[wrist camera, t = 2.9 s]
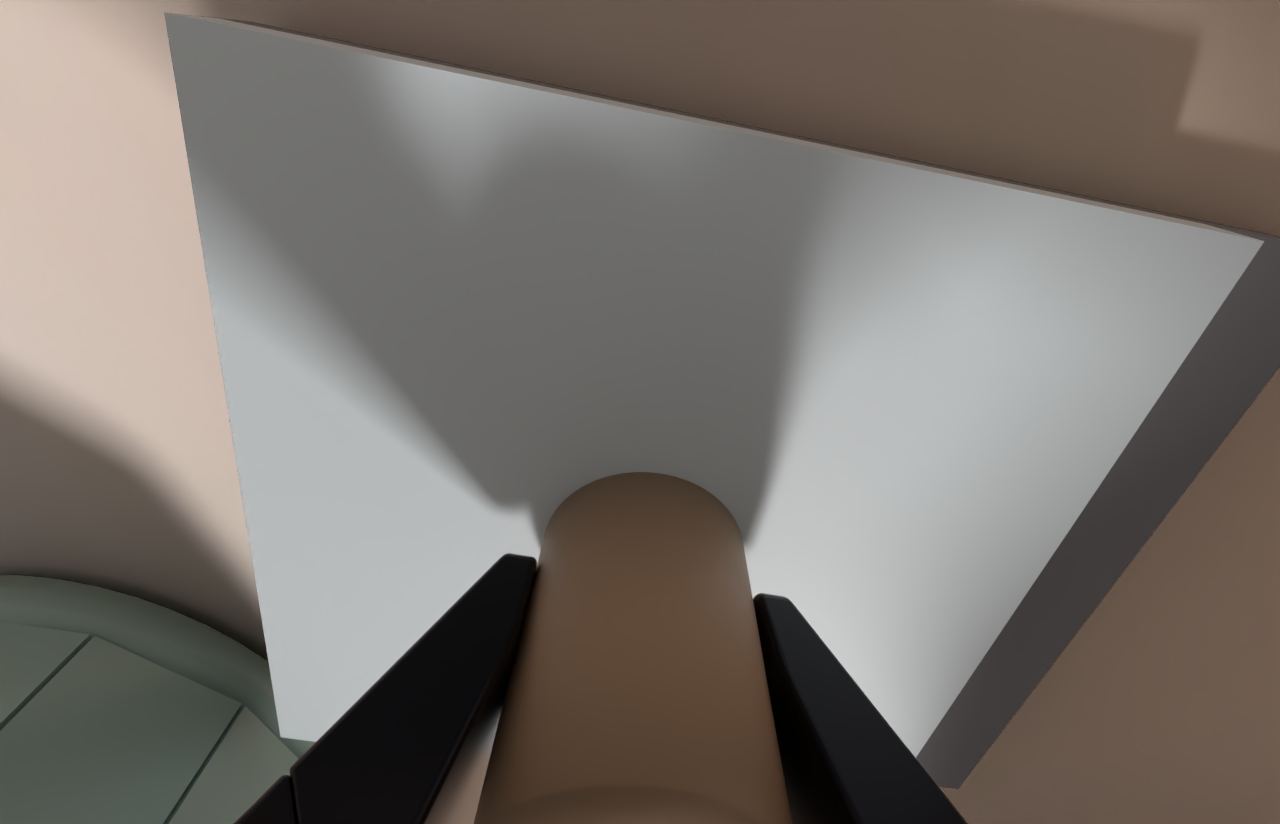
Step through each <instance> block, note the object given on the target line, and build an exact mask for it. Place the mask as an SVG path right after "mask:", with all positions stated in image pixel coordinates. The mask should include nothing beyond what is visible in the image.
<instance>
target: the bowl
mask: <svg viewBox="0 0 1280 824" xmlns="http://www.w3.org/2000/svg"><path fill="white" fill-rule="evenodd" d="M314 743H315V742H313V741H305V740H298V739H291V738H283V737H280V731H279V725H278V718H277V712H276V706H275V700H274V693H273V687H272V681H271V675H270V668H269V662H268V661H266V660H265V659H263V658H262V657H260V656H259V655H257V654H256V653H254V652H253V651H251V650H250V649H248V648H247V647H245V646H243V645H242V644H240V643H239V642H237V641H235V640H233V639H231V638H229V637H228V636H226V635H224V634H222V633H220V632H218V631H217V630H215V629H213V628H211V627H209V626H207V625H205V624H203V623H200V622H198V621H196V620H194V619H191V618H189V617H187V616H185V615H182V614H180V613H178V612H176V611H173V610H171V609H168V608H165V607H163V606H160V605H157V604H154V603H151V602H149V601H146V600H143V599H140V598H137V597H134V596H131V595H127V594H123V593H120V592H116V591H112V590H109V589H105V588H101V587H98V586H92V585H87V584H82V583H77V582H72V581H66V580H61V579H53V578H43V577H34V576H24V575H0V824H233V823H234V822H235V821H236V820H238V819H239V818H240V817H241V816H242V815H243V814H244V813H245V812H246V811H247V810H248V809H249V808H250V807H251V806H252V805H253V804H254V803H255V802H256V801H257V800H258V799H259V798H260V797H261V796H262V795H263V794H264V793H265V792H266V791H267V790H268V789H269V788H270V787H271V786H272V785H273V784H274V783H275V782H276V781H277V780H278V779H279V778H280V777H281V776H282V775H285V774H287V775H289V776H290V768H291V766H292V765H293V764H294V763H295V762H296V761H297V760H298V759H299V758H300V757H301V756H302V755H303V754H304V753H305V752H306V751H307V750H308V749H309V748H310V747H311V746H312V745H313V744H314Z"/></svg>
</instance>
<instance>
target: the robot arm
mask: <svg viewBox="0 0 1280 824" xmlns="http://www.w3.org/2000/svg"><path fill="white" fill-rule="evenodd" d="M536 570H537V561H536V559H535V558H534V557H531V556H525V555H518V554H512V553H507V554H504V555H503V556H502V557H501V558H499V559H498V560H497V561H496V562H495V563H494V564H493V565H492V566H491V567H490V568H489V569H488V570H487V571H486V572H485V573H484V574H483V575H482V576H481V577H480V578H479V579H478V580H477V581H476V582H475V583H474V584H473V585H472V586H471V587H470V588H469V589H468V590H467V591H466V592H465V593H464V594H463V595H462V596H461V597H460V598H459V599H458V600H457V601H456V602H455V603H454V604H453V605H452V606H451V607H450V608H449V609H448V610H447V611H446V612H445V613H444V614H443V615H442V616H441V617H440V618H439V619H438V620H437V621H436V622H435V623H434V624H433V625H432V626H431V627H430V628H429V629H428V630H427V631H426V632H425V633H424V634H423V635H422V636H421V637H420V638H419V639H418V640H417V641H416V642H415V643H414V644H413V645H412V646H411V647H410V648H409V649H408V650H407V651H406V652H405V653H404V654H403V655H402V656H401V657H400V658H399V659H398V660H397V661H396V662H395V663H394V664H393V665H392V666H391V667H390V668H389V669H388V670H387V671H386V672H385V673H384V674H383V675H382V676H381V677H380V678H379V679H378V680H377V681H376V682H375V683H374V684H373V685H372V686H371V687H370V688H369V689H368V690H367V691H366V692H365V693H364V694H363V695H362V696H361V697H360V698H359V699H358V700H357V701H356V702H355V703H354V704H353V705H352V706H351V707H350V708H349V709H348V710H347V711H346V712H345V713H344V714H343V715H342V716H341V717H340V718H339V719H338V720H337V721H336V722H335V723H334V724H333V725H332V726H331V727H330V728H329V729H328V730H327V731H326V732H325V733H324V734H323V735H322V736H321V737H320V738H319V739H318V740H317V741H316V742H315V743H314V744H313V745H312V746H311V747H310V748H309V749H308V750H307V751H306V752H305V753H304V754H303V755H302V756H301V757H300V758H299V759H298V760H297V761H296V762H295V763H294V764H293V765H292V766H291V768H290V776H289V775H287V774H285V775H282V776H281V777H280V778H279V779H278V780H277V781H276V782H275V783H274V784H273V785H272V786H271V787H270V788H269V789H268V790H267V791H266V792H265V793H264V794H263V795H262V796H261V797H260V798H259V799H258V800H257V801H256V802H255V803H254V804H253V805H252V806H251V807H250V808H249V809H248V810H247V811H246V812H245V813H244V814H243V815H242V816H241V817H240V818H239V819H238V820H236V821H235V822H234V823H233V824H474V820H475V816H476V812H477V808H478V803H479V799H480V795H481V791H482V787H483V783H484V779H485V775H486V771H487V767H488V763H489V759H490V755H491V751H492V746H493V742H494V738H495V734H496V730H497V726H498V722H499V718H500V714H501V710H502V706H503V702H504V698H505V694H506V690H507V685H508V681H509V677H510V674H511V670H512V667H513V663H514V659H515V656H516V652H517V648H518V644H519V640H520V635H521V631H522V627H523V623H524V619H525V615H526V611H527V607H528V603H529V599H530V595H531V591H532V586H533V582H534V578H535V574H536ZM753 603H754V609H755V614H756V620H757V626H758V631H759V637H760V643H761V648H762V654H763V660H764V666H765V671H766V677H767V683H768V688H769V694H770V700H771V705H772V711H773V717H774V722H775V728H776V734H777V740H778V745H779V751H780V757H781V762H782V768H783V774H784V779H785V785H786V791H787V797H788V802H789V808H790V814H791V819H792V824H968V823H967V822H966V821H965V820H964V818H963V817H962V816H961V815H960V813H959V812H958V811H957V810H956V808H955V807H954V806H953V804H952V803H951V802H950V801H949V799H948V798H947V797H946V796H945V794H944V793H943V792H942V791H941V789H940V788H939V787H938V786H937V784H936V783H935V782H934V780H933V779H932V778H931V777H930V775H929V774H928V773H927V772H926V770H925V769H924V768H923V767H922V765H921V764H920V763H919V762H918V760H917V759H916V758H915V757H914V755H913V754H912V753H911V751H910V750H909V749H908V748H907V746H906V745H905V744H904V743H903V741H902V740H901V739H900V738H899V736H898V735H897V734H896V733H895V731H894V730H893V729H892V727H891V726H890V725H889V724H888V722H887V721H886V720H885V719H884V717H883V716H882V715H881V714H880V712H879V711H878V710H877V709H876V707H875V706H874V705H873V704H872V702H871V701H870V700H869V698H868V697H867V696H866V695H865V693H864V692H863V691H862V690H861V688H860V687H859V686H858V685H857V683H856V682H855V681H854V680H853V678H852V677H851V676H850V674H849V673H848V672H847V671H846V669H845V668H844V667H843V666H842V664H841V663H840V662H839V661H838V659H837V658H836V657H835V656H834V654H833V653H832V652H831V651H830V649H829V648H828V647H827V645H826V644H825V643H824V642H823V640H822V639H821V638H820V637H819V635H818V634H817V633H816V632H815V630H814V629H813V628H812V627H811V625H810V624H809V623H808V622H807V620H806V619H805V618H804V616H803V615H802V614H801V613H800V611H799V610H798V609H797V608H796V606H795V605H794V604H793V603H792V602H791V600H789V599H788V598H786V597H784V596H778V595H772V594H765V593H759V594H757V595H756V596H755V597H754V598H753Z"/></svg>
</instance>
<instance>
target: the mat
mask: <svg viewBox="0 0 1280 824" xmlns="http://www.w3.org/2000/svg"><path fill="white" fill-rule="evenodd" d="M224 20H229V19H224ZM229 21H233V22H238V23H243V24H248V25H253V26H257V27H262V28H267V29H272V30H277V31H281V32H286V33H291V34H296V35H301V36H305V37H310V38H315V39H320V40H325V41H329V42H334V43H339V44H344V45H349V46H353V47H358V48H363V49H368V50H373V51H377V52H382V53H387V54H392V55H397V56H401V57H406V58H411V59H416V60H420V61H425V62H430V63H435V64H440V65H444V66H449V67H454V68H459V69H464V70H468V71H473V72H478V73H483V74H488V75H492V76H497V77H502V78H507V79H512V80H516V81H521V82H526V83H531V84H536V85H540V86H545V87H550V88H555V89H560V90H564V91H569V92H574V93H579V94H584V95H588V96H593V97H598V98H603V99H607V100H612V101H617V102H622V103H627V104H631V105H636V106H641V107H646V108H651V109H655V110H660V111H665V112H670V113H675V114H679V115H684V116H689V117H694V118H699V119H703V120H708V121H713V122H718V123H723V124H727V125H732V126H737V127H742V128H747V129H751V130H756V131H761V132H766V133H771V134H775V135H780V136H785V137H790V138H794V139H799V140H804V141H809V142H814V143H818V144H823V145H828V146H833V147H838V148H842V149H847V150H852V151H857V152H862V153H866V154H871V155H876V156H881V157H886V158H890V159H895V160H900V161H905V162H910V163H914V164H919V165H924V166H929V167H934V168H938V169H943V170H948V171H953V172H958V173H962V174H967V175H972V176H977V177H981V178H986V179H991V180H996V181H1001V182H1005V183H1010V184H1015V185H1020V186H1025V187H1029V188H1034V189H1039V190H1044V191H1049V192H1053V193H1058V194H1063V195H1068V196H1073V197H1077V198H1082V199H1087V200H1092V201H1097V202H1101V203H1106V204H1111V205H1116V206H1121V207H1125V208H1130V209H1135V210H1140V211H1145V212H1149V213H1154V214H1159V215H1164V216H1168V217H1173V218H1178V219H1183V220H1188V221H1192V222H1197V223H1202V224H1206V225H1210V226H1213V227H1217V228H1220V229H1224V230H1227V231H1231V232H1234V233H1238V234H1241V235H1245V236H1248V237H1251V238H1255V239H1258V240H1262V241H1264V243H1263V244H1262V246H1261V247H1260V249H1259V250H1258V252H1257V253H1256V255H1255V256H1254V258H1253V259H1252V261H1251V262H1250V263H1249V265H1248V266H1247V268H1246V269H1245V271H1244V272H1243V274H1242V275H1241V277H1240V278H1239V280H1238V281H1237V283H1236V284H1235V286H1234V287H1233V289H1232V290H1231V292H1230V293H1229V295H1228V296H1227V298H1226V299H1225V301H1224V302H1223V303H1222V305H1221V306H1220V308H1219V309H1218V311H1217V312H1216V314H1215V315H1214V317H1213V318H1212V320H1211V321H1210V323H1209V324H1208V326H1207V327H1206V329H1205V330H1204V332H1203V333H1202V335H1201V336H1200V338H1199V339H1198V340H1197V342H1196V343H1195V345H1194V346H1193V348H1192V349H1191V351H1190V352H1189V354H1188V355H1187V357H1186V358H1185V360H1184V361H1183V363H1182V364H1181V366H1180V367H1179V369H1178V370H1177V372H1176V373H1175V375H1174V376H1173V378H1172V379H1171V380H1170V382H1169V383H1168V385H1167V386H1166V388H1165V389H1164V391H1163V392H1162V394H1161V395H1160V397H1159V398H1158V400H1157V401H1156V403H1155V404H1154V406H1153V407H1152V409H1151V410H1150V412H1149V413H1148V415H1147V416H1146V418H1145V419H1144V420H1143V422H1142V423H1141V425H1140V426H1139V428H1138V429H1137V431H1136V432H1135V434H1134V435H1133V437H1132V438H1131V440H1130V441H1129V443H1128V444H1127V446H1126V447H1125V449H1124V450H1123V452H1122V453H1121V455H1120V456H1119V458H1118V459H1117V460H1116V462H1115V463H1114V465H1113V466H1112V468H1111V469H1110V471H1109V472H1108V474H1107V475H1106V477H1105V478H1104V480H1103V481H1102V483H1101V484H1100V486H1099V487H1098V489H1097V490H1096V492H1095V493H1094V495H1093V496H1092V497H1091V499H1090V500H1089V502H1088V503H1087V505H1086V506H1085V508H1084V509H1083V511H1082V512H1081V514H1080V515H1079V517H1078V518H1077V520H1076V521H1075V523H1074V524H1073V526H1072V527H1071V529H1070V530H1069V532H1068V533H1067V535H1066V536H1065V537H1064V539H1063V540H1062V542H1061V543H1060V545H1059V546H1058V548H1057V549H1056V551H1055V552H1054V554H1053V555H1052V557H1051V558H1050V560H1049V561H1048V563H1047V564H1046V566H1045V567H1044V569H1043V570H1042V572H1041V573H1040V575H1039V576H1038V577H1037V579H1036V580H1035V582H1034V583H1033V585H1032V586H1031V588H1030V589H1029V591H1028V592H1027V594H1026V595H1025V597H1024V598H1023V600H1022V601H1021V603H1020V604H1019V606H1018V607H1017V609H1016V610H1015V612H1014V613H1013V614H1012V616H1011V617H1010V619H1009V620H1008V622H1007V623H1006V625H1005V626H1004V628H1003V629H1002V631H1001V632H1000V634H999V635H998V637H997V638H996V640H995V641H994V643H993V644H992V646H991V647H990V649H989V650H988V652H987V653H986V654H985V656H984V657H983V659H982V660H981V662H980V663H979V665H978V666H977V668H976V669H975V671H974V672H973V674H972V675H971V677H970V678H969V680H968V681H967V683H966V684H965V686H964V687H963V689H962V690H961V692H960V693H959V694H958V696H957V697H956V699H955V700H954V702H953V703H952V705H951V706H950V708H949V709H948V711H947V712H946V714H945V715H944V717H943V718H942V720H941V721H940V723H939V724H938V726H937V727H936V729H935V730H934V731H933V733H932V734H931V736H930V737H929V739H928V740H927V742H926V743H925V745H924V746H923V748H922V749H921V751H920V752H919V754H918V755H917V757H916V759H917V760H918V762H919V763H920V764H921V765H922V767H923V768H924V769H925V770H926V772H927V773H928V774H929V775H930V777H931V778H932V779H933V780H934V782H935V783H936V784H937V786H941V787H948V788H955V789H958V788H959V787H960V786H961V784H962V783H963V782H964V780H965V779H966V778H967V776H968V775H969V774H970V772H971V771H972V770H973V769H974V767H975V766H976V765H977V763H978V762H979V761H980V759H981V758H982V757H983V755H984V754H985V753H986V751H987V750H988V749H989V748H990V746H991V745H992V744H993V742H994V741H995V740H996V738H997V737H998V736H999V734H1000V733H1001V732H1002V730H1003V729H1004V728H1005V727H1006V725H1007V724H1008V723H1009V721H1010V720H1011V719H1012V717H1013V716H1014V715H1015V713H1016V712H1017V711H1018V709H1019V708H1020V707H1021V706H1022V704H1023V703H1024V702H1025V700H1026V699H1027V698H1028V696H1029V695H1030V694H1031V692H1032V691H1033V690H1034V688H1035V687H1036V686H1037V685H1038V683H1039V682H1040V681H1041V679H1042V678H1043V677H1044V675H1045V674H1046V673H1047V671H1048V670H1049V669H1050V668H1051V666H1052V665H1053V664H1054V662H1055V661H1056V660H1057V658H1058V657H1059V656H1060V654H1061V653H1062V652H1063V650H1064V649H1065V648H1066V647H1067V645H1068V644H1069V643H1070V641H1071V640H1072V639H1073V637H1074V636H1075V635H1076V633H1077V632H1078V631H1079V629H1080V628H1081V627H1082V626H1083V624H1084V623H1085V622H1086V620H1087V619H1088V618H1089V616H1090V615H1091V614H1092V612H1093V611H1094V610H1095V608H1096V607H1097V606H1098V605H1099V603H1100V602H1101V601H1102V599H1103V598H1104V597H1105V595H1106V594H1107V593H1108V591H1109V590H1110V589H1111V587H1112V586H1113V585H1114V584H1115V582H1116V581H1117V580H1118V578H1119V577H1120V576H1121V574H1122V573H1123V572H1124V570H1125V569H1126V568H1127V567H1128V565H1129V564H1130V563H1131V561H1132V560H1133V559H1134V557H1135V556H1136V555H1137V553H1138V552H1139V551H1140V549H1141V548H1142V547H1143V546H1144V544H1145V543H1146V542H1147V540H1148V539H1149V538H1150V536H1151V535H1152V534H1153V532H1154V531H1155V530H1156V528H1157V527H1158V526H1159V525H1160V523H1161V522H1162V521H1163V519H1164V518H1165V517H1166V515H1167V514H1168V513H1169V511H1170V510H1171V509H1172V507H1173V506H1174V505H1175V504H1176V502H1177V501H1178V500H1179V498H1180V497H1181V496H1182V494H1183V493H1184V492H1185V490H1186V489H1187V488H1188V486H1189V485H1190V484H1191V483H1192V481H1193V480H1194V479H1195V477H1196V476H1197V475H1198V473H1199V472H1200V471H1201V469H1202V468H1203V467H1204V466H1205V464H1206V463H1207V462H1208V460H1209V459H1210V458H1211V456H1212V455H1213V454H1214V452H1215V451H1216V450H1217V448H1218V447H1219V446H1220V445H1221V443H1222V442H1223V441H1224V439H1225V438H1226V437H1227V435H1228V434H1229V433H1230V431H1231V430H1232V429H1233V427H1234V426H1235V425H1236V424H1237V422H1238V421H1239V420H1240V418H1241V417H1242V416H1243V414H1244V413H1245V412H1246V410H1247V409H1248V408H1249V406H1250V405H1251V404H1252V403H1253V401H1254V400H1255V399H1256V397H1257V396H1258V395H1259V393H1260V392H1261V391H1262V389H1263V388H1264V387H1265V386H1266V384H1267V383H1268V382H1269V380H1270V379H1271V378H1272V376H1273V375H1274V374H1275V372H1276V371H1277V370H1278V368H1279V367H1280V237H1278V236H1274V235H1269V234H1264V233H1259V232H1255V231H1250V230H1245V229H1240V228H1235V227H1231V226H1226V225H1221V224H1216V223H1211V222H1207V221H1202V220H1197V219H1192V218H1187V217H1183V216H1178V215H1173V214H1168V213H1164V212H1159V211H1154V210H1149V209H1144V208H1140V207H1135V206H1130V205H1125V204H1120V203H1116V202H1111V201H1106V200H1101V199H1097V198H1092V197H1087V196H1082V195H1077V194H1073V193H1068V192H1063V191H1058V190H1053V189H1049V188H1044V187H1039V186H1034V185H1030V184H1025V183H1020V182H1015V181H1010V180H1006V179H1001V178H996V177H991V176H986V175H982V174H977V173H972V172H967V171H962V170H958V169H953V168H948V167H943V166H939V165H934V164H929V163H924V162H919V161H915V160H910V159H905V158H900V157H895V156H891V155H886V154H881V153H876V152H872V151H867V150H862V149H857V148H852V147H848V146H843V145H838V144H833V143H828V142H824V141H819V140H814V139H809V138H805V137H800V136H795V135H790V134H785V133H781V132H776V131H771V130H766V129H761V128H757V127H752V126H747V125H742V124H737V123H733V122H728V121H723V120H718V119H714V118H709V117H704V116H699V115H694V114H690V113H685V112H680V111H675V110H670V109H666V108H661V107H656V106H651V105H647V104H642V103H637V102H632V101H627V100H623V99H618V98H613V97H608V96H603V95H599V94H594V93H589V92H584V91H580V90H575V89H570V88H565V87H560V86H556V85H551V84H546V83H541V82H536V81H532V80H527V79H522V78H517V77H512V76H508V75H503V74H498V73H493V72H489V71H484V70H479V69H474V68H469V67H465V66H460V65H455V64H450V63H445V62H441V61H436V60H431V59H426V58H422V57H417V56H412V55H407V54H402V53H398V52H393V51H388V50H383V49H378V48H374V47H369V46H364V45H359V44H355V43H350V42H345V41H340V40H335V39H331V38H326V37H321V36H316V35H311V34H307V33H302V32H297V31H292V30H287V29H283V28H278V27H273V26H268V25H264V24H259V23H254V22H247V21H238V20H229Z"/></svg>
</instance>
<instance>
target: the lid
mask: <svg viewBox="0 0 1280 824" xmlns="http://www.w3.org/2000/svg"><path fill="white" fill-rule="evenodd" d="M164 13H165V12H164ZM165 19H166V26H167V32H168V38H169V44H170V50H171V57H172V63H173V69H174V75H175V82H176V88H177V94H178V100H179V107H180V113H181V119H182V125H183V132H184V138H185V144H186V150H187V157H188V163H189V169H190V175H191V182H192V188H193V194H194V200H195V207H196V213H197V219H198V225H199V232H200V238H201V244H202V250H203V256H204V263H205V269H206V275H207V281H208V288H209V294H210V300H211V306H212V313H213V319H214V325H215V331H216V338H217V344H218V350H219V356H220V363H221V369H222V375H223V381H224V388H225V394H226V400H227V406H228V413H229V419H230V425H231V431H232V437H233V444H234V450H235V456H236V462H237V469H238V475H239V481H240V487H241V494H242V500H243V506H244V512H245V519H246V525H247V531H248V537H249V544H250V550H251V556H252V562H253V569H254V575H255V581H256V587H257V594H258V600H259V606H260V612H261V619H262V625H263V631H264V637H265V643H266V650H267V656H268V662H269V668H270V675H271V681H272V687H273V693H274V700H275V706H276V712H277V718H278V725H279V731H280V737H283V738H291V739H298V740H305V741H313V742H316V741H317V740H318V739H319V738H320V737H321V736H322V735H323V734H324V733H325V732H326V731H327V730H328V729H329V728H330V727H331V726H332V725H333V724H334V723H335V722H336V721H337V720H338V719H339V718H340V717H341V716H342V715H343V714H344V713H345V712H346V711H347V710H348V709H349V708H350V707H351V706H352V705H353V704H354V703H355V702H356V701H357V700H358V699H359V698H360V697H361V696H362V695H363V694H364V693H365V692H366V691H367V690H368V689H369V688H370V687H371V686H372V685H373V684H374V683H375V682H376V681H377V680H378V679H379V678H380V677H381V676H382V675H383V674H384V673H385V672H386V671H387V670H388V669H389V668H390V667H391V666H392V665H393V664H394V663H395V662H396V661H397V660H398V659H399V658H400V657H401V656H402V655H403V654H404V653H405V652H406V651H407V650H408V649H409V648H410V647H411V646H412V645H413V644H414V643H415V642H416V641H417V640H418V639H419V638H420V637H421V636H422V635H423V634H424V633H425V632H426V631H427V630H428V629H429V628H430V627H431V626H432V625H433V624H434V623H435V622H436V621H437V620H438V619H439V618H440V617H441V616H442V615H443V614H444V613H445V612H446V611H447V610H448V609H449V608H450V607H451V606H452V605H453V604H454V603H455V602H456V601H457V600H458V599H459V598H460V597H461V596H462V595H463V594H464V593H465V592H466V591H467V590H468V589H469V588H470V587H471V586H472V585H473V584H474V583H475V582H476V581H477V580H478V579H479V578H480V577H481V576H482V575H483V574H484V573H485V572H486V571H487V570H488V569H489V568H490V567H491V566H492V565H493V564H494V563H495V562H496V561H497V560H498V559H499V558H501V557H502V556H503V555H504V554H507V553H512V554H518V555H525V556H531V557H534V558H535V559H536V561H537V570H536V574H535V578H534V582H533V586H532V591H531V595H530V599H529V603H528V607H527V611H526V615H525V619H524V623H523V627H522V631H521V635H520V640H519V644H518V648H517V652H516V656H515V659H514V663H513V667H512V670H511V674H510V677H509V681H508V685H507V690H506V694H505V698H504V702H503V706H502V710H501V714H500V718H499V722H498V726H497V730H496V734H495V738H494V742H493V746H492V751H491V755H490V759H489V763H488V767H487V771H486V775H485V779H484V783H483V787H482V791H481V795H480V799H479V803H478V808H477V812H476V816H475V820H474V824H792V819H791V814H790V808H789V802H788V797H787V791H786V785H785V779H784V774H783V768H782V762H781V757H780V751H779V745H778V740H777V734H776V728H775V722H774V717H773V711H772V705H771V700H770V694H769V688H768V683H767V677H766V671H765V666H764V660H763V654H762V648H761V643H760V637H759V631H758V626H757V620H756V614H755V609H754V603H753V598H754V597H755V596H756V595H757V594H759V593H765V594H772V595H778V596H784V597H786V598H788V599H789V600H791V602H792V603H793V604H794V605H795V606H796V608H797V609H798V610H799V611H800V613H801V614H802V615H803V616H804V618H805V619H806V620H807V622H808V623H809V624H810V625H811V627H812V628H813V629H814V630H815V632H816V633H817V634H818V635H819V637H820V638H821V639H822V640H823V642H824V643H825V644H826V645H827V647H828V648H829V649H830V651H831V652H832V653H833V654H834V656H835V657H836V658H837V659H838V661H839V662H840V663H841V664H842V666H843V667H844V668H845V669H846V671H847V672H848V673H849V674H850V676H851V677H852V678H853V680H854V681H855V682H856V683H857V685H858V686H859V687H860V688H861V690H862V691H863V692H864V693H865V695H866V696H867V697H868V698H869V700H870V701H871V702H872V704H873V705H874V706H875V707H876V709H877V710H878V711H879V712H880V714H881V715H882V716H883V717H884V719H885V720H886V721H887V722H888V724H889V725H890V726H891V727H892V729H893V730H894V731H895V733H896V734H897V735H898V736H899V738H900V739H901V740H902V741H903V743H904V744H905V745H906V746H907V748H908V749H909V750H910V751H911V753H912V754H913V755H914V757H915V758H916V757H917V755H918V754H919V752H920V751H921V749H922V748H923V746H924V745H925V743H926V742H927V740H928V739H929V737H930V736H931V734H932V733H933V731H934V730H935V729H936V727H937V726H938V724H939V723H940V721H941V720H942V718H943V717H944V715H945V714H946V712H947V711H948V709H949V708H950V706H951V705H952V703H953V702H954V700H955V699H956V697H957V696H958V694H959V693H960V692H961V690H962V689H963V687H964V686H965V684H966V683H967V681H968V680H969V678H970V677H971V675H972V674H973V672H974V671H975V669H976V668H977V666H978V665H979V663H980V662H981V660H982V659H983V657H984V656H985V654H986V653H987V652H988V650H989V649H990V647H991V646H992V644H993V643H994V641H995V640H996V638H997V637H998V635H999V634H1000V632H1001V631H1002V629H1003V628H1004V626H1005V625H1006V623H1007V622H1008V620H1009V619H1010V617H1011V616H1012V614H1013V613H1014V612H1015V610H1016V609H1017V607H1018V606H1019V604H1020V603H1021V601H1022V600H1023V598H1024V597H1025V595H1026V594H1027V592H1028V591H1029V589H1030V588H1031V586H1032V585H1033V583H1034V582H1035V580H1036V579H1037V577H1038V576H1039V575H1040V573H1041V572H1042V570H1043V569H1044V567H1045V566H1046V564H1047V563H1048V561H1049V560H1050V558H1051V557H1052V555H1053V554H1054V552H1055V551H1056V549H1057V548H1058V546H1059V545H1060V543H1061V542H1062V540H1063V539H1064V537H1065V536H1066V535H1067V533H1068V532H1069V530H1070V529H1071V527H1072V526H1073V524H1074V523H1075V521H1076V520H1077V518H1078V517H1079V515H1080V514H1081V512H1082V511H1083V509H1084V508H1085V506H1086V505H1087V503H1088V502H1089V500H1090V499H1091V497H1092V496H1093V495H1094V493H1095V492H1096V490H1097V489H1098V487H1099V486H1100V484H1101V483H1102V481H1103V480H1104V478H1105V477H1106V475H1107V474H1108V472H1109V471H1110V469H1111V468H1112V466H1113V465H1114V463H1115V462H1116V460H1117V459H1118V458H1119V456H1120V455H1121V453H1122V452H1123V450H1124V449H1125V447H1126V446H1127V444H1128V443H1129V441H1130V440H1131V438H1132V437H1133V435H1134V434H1135V432H1136V431H1137V429H1138V428H1139V426H1140V425H1141V423H1142V422H1143V420H1144V419H1145V418H1146V416H1147V415H1148V413H1149V412H1150V410H1151V409H1152V407H1153V406H1154V404H1155V403H1156V401H1157V400H1158V398H1159V397H1160V395H1161V394H1162V392H1163V391H1164V389H1165V388H1166V386H1167V385H1168V383H1169V382H1170V380H1171V379H1172V378H1173V376H1174V375H1175V373H1176V372H1177V370H1178V369H1179V367H1180V366H1181V364H1182V363H1183V361H1184V360H1185V358H1186V357H1187V355H1188V354H1189V352H1190V351H1191V349H1192V348H1193V346H1194V345H1195V343H1196V342H1197V340H1198V339H1199V338H1200V336H1201V335H1202V333H1203V332H1204V330H1205V329H1206V327H1207V326H1208V324H1209V323H1210V321H1211V320H1212V318H1213V317H1214V315H1215V314H1216V312H1217V311H1218V309H1219V308H1220V306H1221V305H1222V303H1223V302H1224V301H1225V299H1226V298H1227V296H1228V295H1229V293H1230V292H1231V290H1232V289H1233V287H1234V286H1235V284H1236V283H1237V281H1238V280H1239V278H1240V277H1241V275H1242V274H1243V272H1244V271H1245V269H1246V268H1247V266H1248V265H1249V263H1250V262H1251V261H1252V259H1253V258H1254V256H1255V255H1256V253H1257V252H1258V250H1259V249H1260V247H1261V246H1262V244H1263V243H1264V241H1262V240H1258V239H1255V238H1251V237H1248V236H1245V235H1241V234H1238V233H1234V232H1231V231H1227V230H1224V229H1220V228H1217V227H1213V226H1210V225H1206V224H1202V223H1197V222H1192V221H1188V220H1183V219H1178V218H1173V217H1168V216H1164V215H1159V214H1154V213H1149V212H1145V211H1140V210H1135V209H1130V208H1125V207H1121V206H1116V205H1111V204H1106V203H1101V202H1097V201H1092V200H1087V199H1082V198H1077V197H1073V196H1068V195H1063V194H1058V193H1053V192H1049V191H1044V190H1039V189H1034V188H1029V187H1025V186H1020V185H1015V184H1010V183H1005V182H1001V181H996V180H991V179H986V178H981V177H977V176H972V175H967V174H962V173H958V172H953V171H948V170H943V169H938V168H934V167H929V166H924V165H919V164H914V163H910V162H905V161H900V160H895V159H890V158H886V157H881V156H876V155H871V154H866V153H862V152H857V151H852V150H847V149H842V148H838V147H833V146H828V145H823V144H818V143H814V142H809V141H804V140H799V139H794V138H790V137H785V136H780V135H775V134H771V133H766V132H761V131H756V130H751V129H747V128H742V127H737V126H732V125H727V124H723V123H718V122H713V121H708V120H703V119H699V118H694V117H689V116H684V115H679V114H675V113H670V112H665V111H660V110H655V109H651V108H646V107H641V106H636V105H631V104H627V103H622V102H617V101H612V100H607V99H603V98H598V97H593V96H588V95H584V94H579V93H574V92H569V91H564V90H560V89H555V88H550V87H545V86H540V85H536V84H531V83H526V82H521V81H516V80H512V79H507V78H502V77H497V76H492V75H488V74H483V73H478V72H473V71H468V70H464V69H459V68H454V67H449V66H444V65H440V64H435V63H430V62H425V61H420V60H416V59H411V58H406V57H401V56H397V55H392V54H387V53H382V52H377V51H373V50H368V49H363V48H358V47H353V46H349V45H344V44H339V43H334V42H329V41H325V40H320V39H315V38H310V37H305V36H301V35H296V34H291V33H286V32H281V31H277V30H272V29H267V28H262V27H257V26H253V25H248V24H243V23H238V22H233V21H229V20H224V19H219V18H210V17H201V16H192V15H183V14H174V13H165Z"/></svg>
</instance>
